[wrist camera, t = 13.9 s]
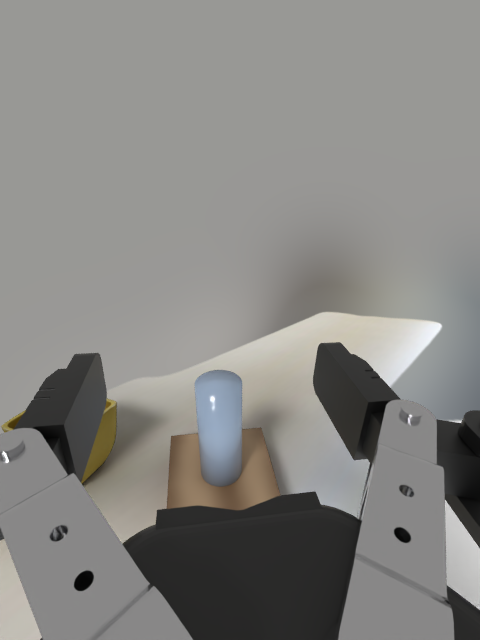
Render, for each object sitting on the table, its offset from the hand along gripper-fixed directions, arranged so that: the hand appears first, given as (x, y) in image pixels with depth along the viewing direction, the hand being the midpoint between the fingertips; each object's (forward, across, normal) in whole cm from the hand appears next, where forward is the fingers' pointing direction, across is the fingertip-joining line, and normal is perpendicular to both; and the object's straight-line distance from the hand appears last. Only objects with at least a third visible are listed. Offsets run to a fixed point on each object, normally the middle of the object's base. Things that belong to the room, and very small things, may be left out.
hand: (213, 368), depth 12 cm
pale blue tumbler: (+17, -2, +25) cm, 31 cm away
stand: (+17, -2, +28) cm, 33 cm away
